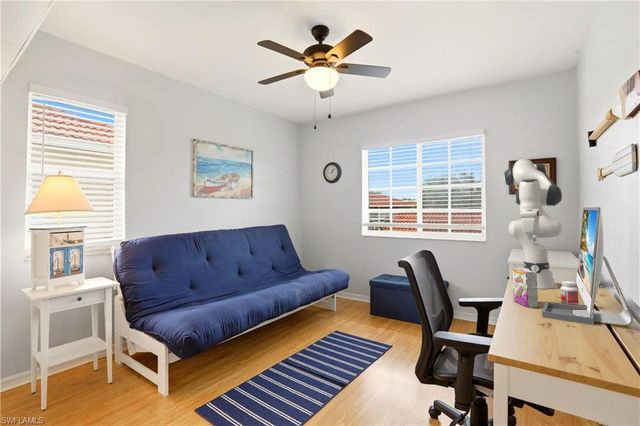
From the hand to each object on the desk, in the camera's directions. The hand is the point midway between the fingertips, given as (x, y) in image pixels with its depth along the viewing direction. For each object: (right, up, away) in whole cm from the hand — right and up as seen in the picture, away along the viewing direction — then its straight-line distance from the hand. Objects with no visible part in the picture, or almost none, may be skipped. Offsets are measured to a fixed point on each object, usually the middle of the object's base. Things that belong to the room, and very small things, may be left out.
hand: (532, 242), depth 143 cm
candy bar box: (-3, -30, 0) cm, 30 cm away
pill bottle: (+13, -29, -5) cm, 32 cm away
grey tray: (+3, -29, -17) cm, 34 cm away
